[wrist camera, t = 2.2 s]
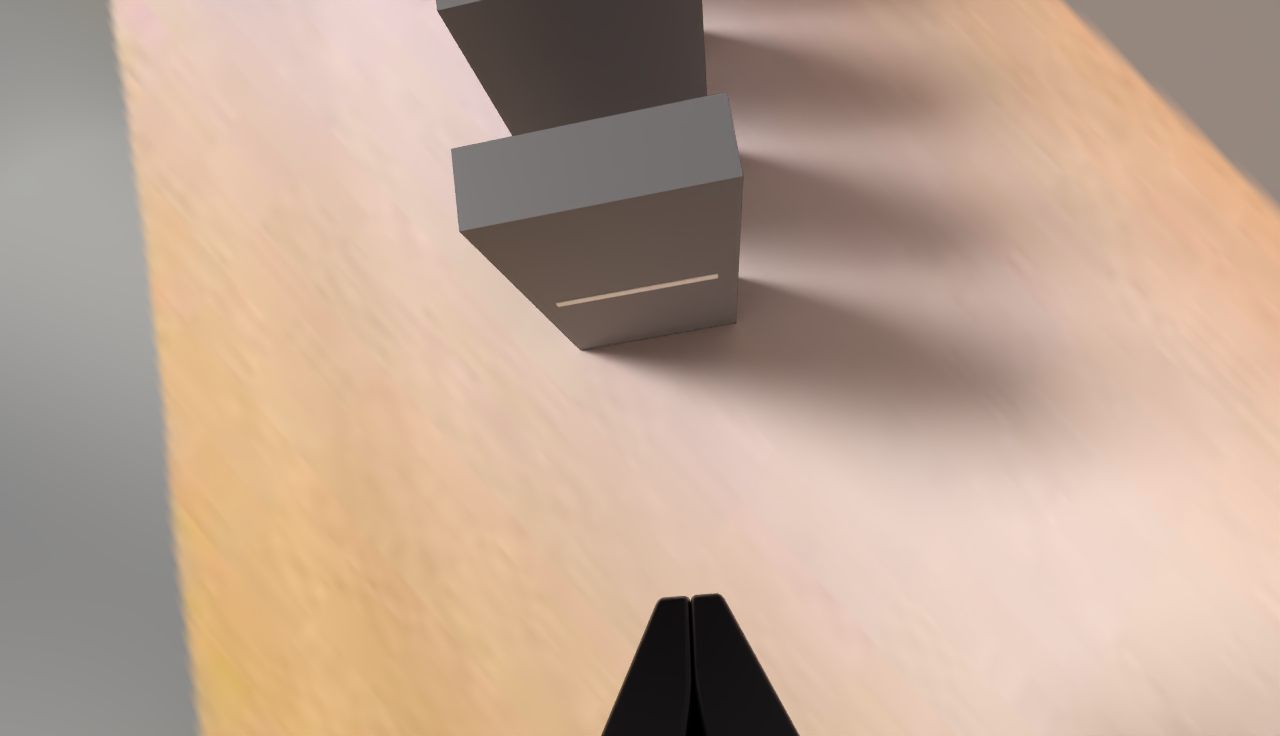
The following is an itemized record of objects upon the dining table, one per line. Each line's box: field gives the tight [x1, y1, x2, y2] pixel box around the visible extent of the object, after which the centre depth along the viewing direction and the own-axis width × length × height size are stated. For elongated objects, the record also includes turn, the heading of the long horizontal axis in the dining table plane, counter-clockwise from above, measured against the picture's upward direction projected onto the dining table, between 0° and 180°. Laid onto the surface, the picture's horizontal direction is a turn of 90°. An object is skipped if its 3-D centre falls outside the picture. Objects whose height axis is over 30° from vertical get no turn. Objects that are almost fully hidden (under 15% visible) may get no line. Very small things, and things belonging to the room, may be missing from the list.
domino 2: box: [451, 92, 743, 350], centre depth 17 cm, size 2×5×10 cm, turn 98°
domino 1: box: [436, 0, 707, 136], centre depth 18 cm, size 2×5×10 cm, turn 98°
